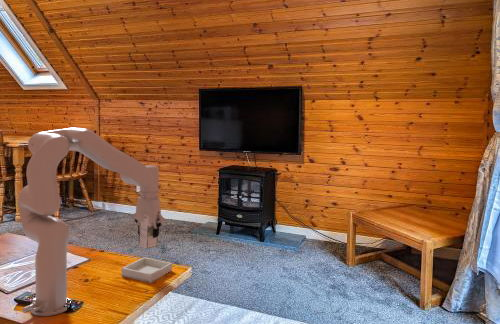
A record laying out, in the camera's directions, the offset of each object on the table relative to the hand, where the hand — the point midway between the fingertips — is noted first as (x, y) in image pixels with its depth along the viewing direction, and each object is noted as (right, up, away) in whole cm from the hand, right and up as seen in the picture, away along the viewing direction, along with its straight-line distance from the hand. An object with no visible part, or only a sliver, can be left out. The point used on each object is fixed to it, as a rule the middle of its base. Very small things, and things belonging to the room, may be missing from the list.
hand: (148, 235), depth 165 cm
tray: (-1, -17, +2) cm, 17 cm away
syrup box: (0, -5, +1) cm, 5 cm away
